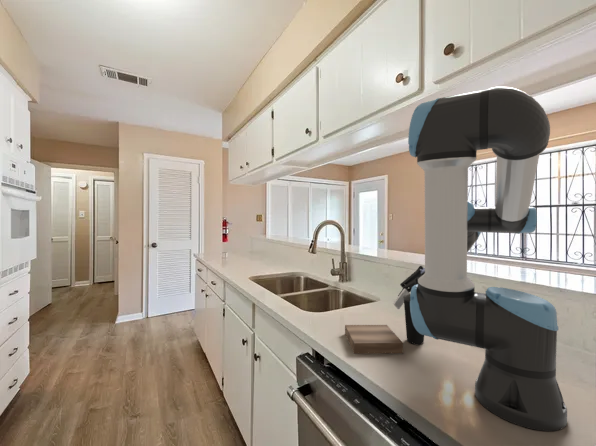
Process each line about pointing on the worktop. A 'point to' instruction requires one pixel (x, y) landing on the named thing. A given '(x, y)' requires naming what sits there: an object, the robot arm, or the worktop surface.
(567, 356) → the worktop surface
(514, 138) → the robot arm
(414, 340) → the drinking cup
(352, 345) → the walnut riser
